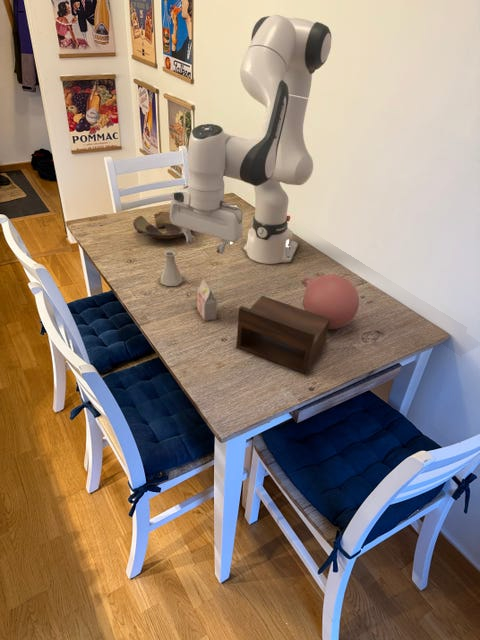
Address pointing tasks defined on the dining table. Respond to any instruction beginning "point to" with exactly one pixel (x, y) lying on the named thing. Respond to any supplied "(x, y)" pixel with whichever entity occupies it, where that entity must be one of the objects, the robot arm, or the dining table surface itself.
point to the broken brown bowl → (158, 226)
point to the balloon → (331, 298)
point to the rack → (282, 333)
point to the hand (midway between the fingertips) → (205, 247)
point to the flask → (171, 271)
